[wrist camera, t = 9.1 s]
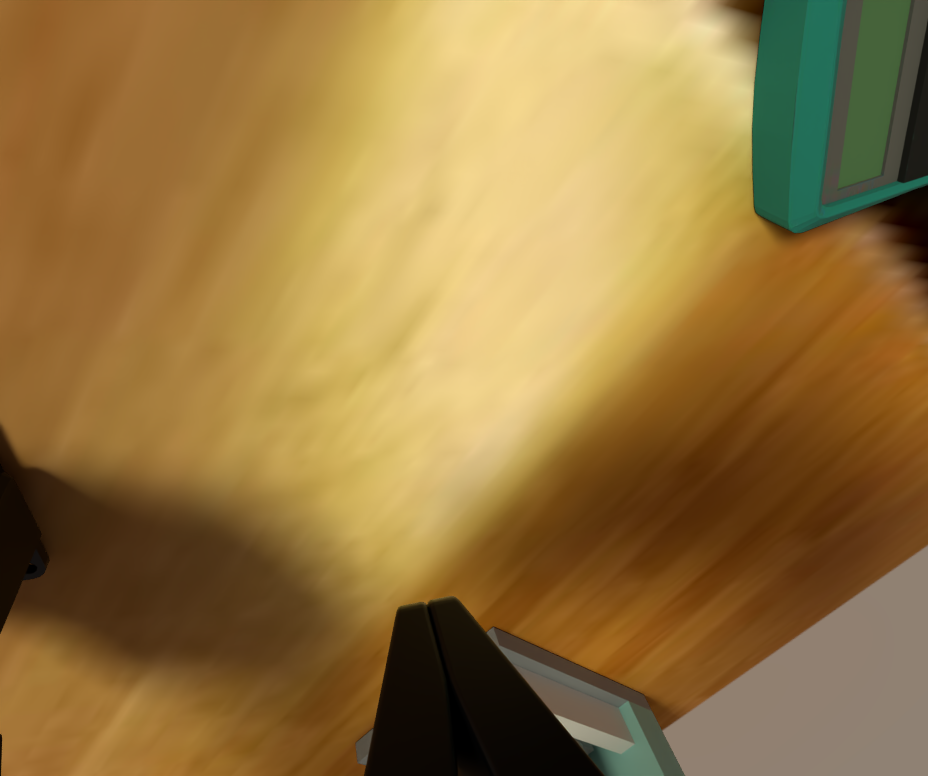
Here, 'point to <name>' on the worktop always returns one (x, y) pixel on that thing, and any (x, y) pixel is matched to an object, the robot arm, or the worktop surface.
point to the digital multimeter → (838, 107)
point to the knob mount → (587, 712)
